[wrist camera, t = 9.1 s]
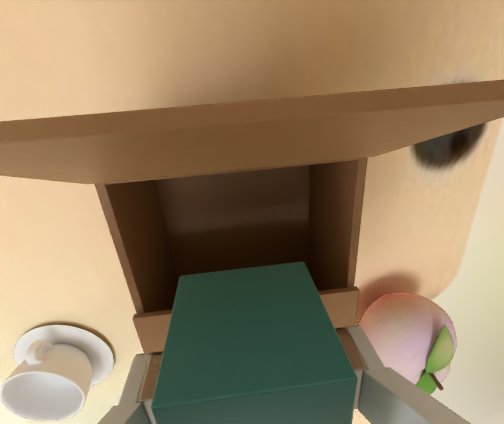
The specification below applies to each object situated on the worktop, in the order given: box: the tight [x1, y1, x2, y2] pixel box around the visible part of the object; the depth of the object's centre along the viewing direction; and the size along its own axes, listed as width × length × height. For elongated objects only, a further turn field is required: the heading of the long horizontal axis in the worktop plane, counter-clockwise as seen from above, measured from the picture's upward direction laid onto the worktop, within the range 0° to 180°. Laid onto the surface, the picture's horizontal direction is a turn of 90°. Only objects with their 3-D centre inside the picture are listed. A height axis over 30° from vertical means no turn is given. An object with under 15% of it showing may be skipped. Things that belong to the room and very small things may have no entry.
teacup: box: [0, 325, 114, 421], centre depth 29 cm, size 10×10×5 cm
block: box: [151, 262, 358, 424], centre depth 9 cm, size 5×5×5 cm
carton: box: [95, 157, 367, 353], centre depth 22 cm, size 17×14×10 cm
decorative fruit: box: [360, 292, 457, 395], centre depth 28 cm, size 9×8×10 cm
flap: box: [0, 80, 504, 184], centre depth 9 cm, size 8×14×1 cm
